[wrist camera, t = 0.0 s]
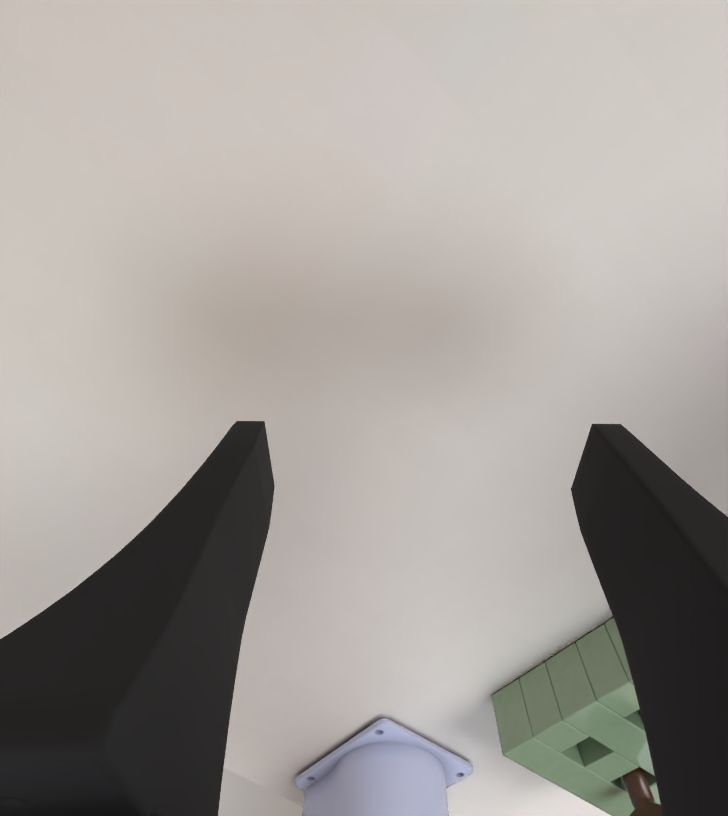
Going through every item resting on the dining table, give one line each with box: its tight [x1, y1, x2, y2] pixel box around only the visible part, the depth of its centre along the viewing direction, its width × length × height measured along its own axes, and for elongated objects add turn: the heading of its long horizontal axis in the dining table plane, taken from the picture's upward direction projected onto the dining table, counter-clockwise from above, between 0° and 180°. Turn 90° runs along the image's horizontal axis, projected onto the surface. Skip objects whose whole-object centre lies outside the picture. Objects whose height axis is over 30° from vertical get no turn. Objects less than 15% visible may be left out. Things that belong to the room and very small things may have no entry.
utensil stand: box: [492, 617, 661, 816], centre depth 30 cm, size 15×11×4 cm
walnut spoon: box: [622, 766, 663, 816], centre depth 30 cm, size 1×4×8 cm, turn 140°
